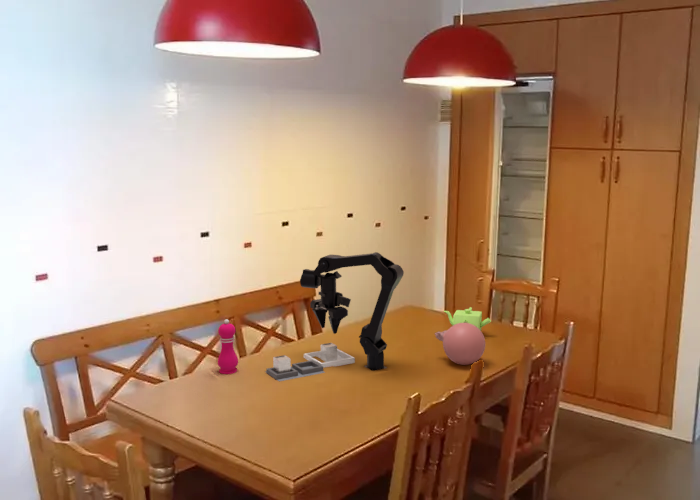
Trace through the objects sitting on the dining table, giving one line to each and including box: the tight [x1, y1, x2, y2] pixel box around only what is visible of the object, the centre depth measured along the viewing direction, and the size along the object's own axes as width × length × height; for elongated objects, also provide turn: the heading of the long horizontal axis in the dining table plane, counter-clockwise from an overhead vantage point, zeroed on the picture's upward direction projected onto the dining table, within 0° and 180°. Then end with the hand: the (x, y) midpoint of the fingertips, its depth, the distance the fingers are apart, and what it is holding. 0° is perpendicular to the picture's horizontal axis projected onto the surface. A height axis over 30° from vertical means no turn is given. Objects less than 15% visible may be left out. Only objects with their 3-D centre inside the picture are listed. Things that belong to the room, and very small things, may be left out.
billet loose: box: [320, 342, 338, 363], centre depth 275 cm, size 4×4×6 cm
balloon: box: [434, 323, 486, 366], centre depth 273 cm, size 15×20×15 cm
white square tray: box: [303, 348, 356, 369], centre depth 275 cm, size 14×14×2 cm
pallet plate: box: [264, 360, 326, 382], centre depth 262 cm, size 12×18×3 cm, turn 120°
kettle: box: [443, 306, 492, 332], centre depth 309 cm, size 15×14×11 cm
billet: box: [272, 355, 292, 374], centre depth 259 cm, size 4×4×6 cm
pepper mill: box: [217, 319, 239, 375], centre depth 261 cm, size 7×7×20 cm
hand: (328, 330), depth 273 cm, fingers open, 9 cm apart
